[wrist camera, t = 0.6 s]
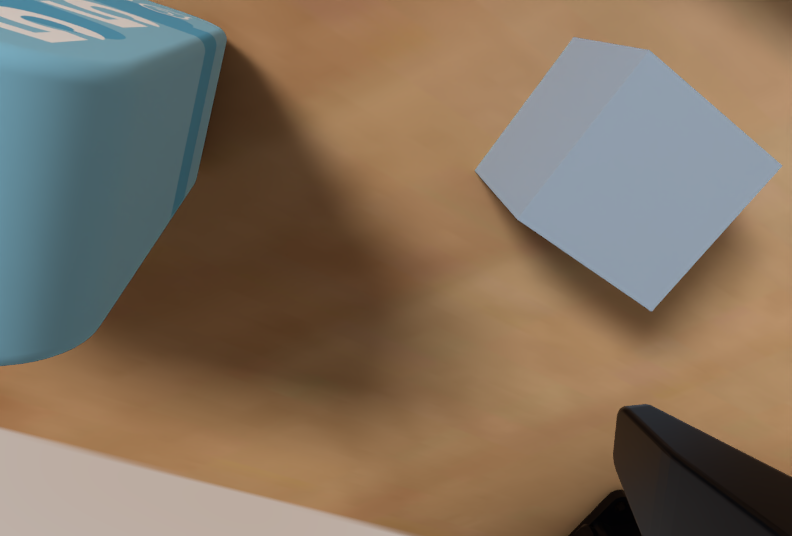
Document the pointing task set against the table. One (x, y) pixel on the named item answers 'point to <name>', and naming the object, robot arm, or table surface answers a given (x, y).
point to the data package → (92, 155)
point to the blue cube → (624, 167)
